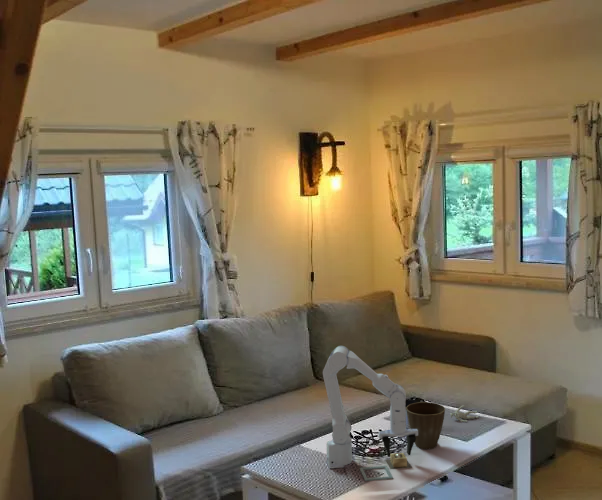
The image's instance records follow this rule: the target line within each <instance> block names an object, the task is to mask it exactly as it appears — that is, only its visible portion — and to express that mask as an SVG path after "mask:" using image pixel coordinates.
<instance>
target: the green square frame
mask: <svg viewBox="0 0 602 500" xmlns="http://www.w3.org/2000/svg"><path fill="white" fill-rule="evenodd" d="M388 467H389V466H388V465H379V466H377V465H376V466H362V467H359V471H360V473H361V474H362V477H363V479H364V481H365V482H371V481H372V482H373V481H384V480H385V481H386V480H394V477H393V475H392V473H391V471H390V470H389V469H390V468H388ZM380 469H382V470H383V469H384V470H385V472H386V473H387V476H380V477H379V476H378V477H377V476H376V477H367V475H366V472H365V471H367V470H370V471H371V470H380Z"/></svg>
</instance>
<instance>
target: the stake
mask: <svg viewBox="0 0 602 500" xmlns="http://www.w3.org/2000/svg"><path fill="white" fill-rule="evenodd" d="M396 458H401V454H396ZM385 463H386V464H387V467H389V469H390V470H399V469H410V468H413V467H412V465H411V464H410V462H409V461H408V460H407V466H401V467H393V465H392V464H391V462H390V459H385Z"/></svg>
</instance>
